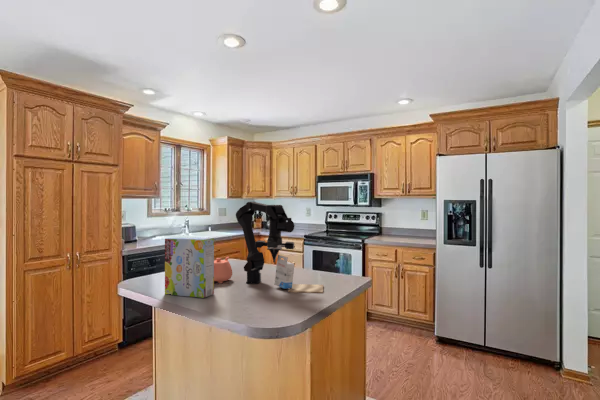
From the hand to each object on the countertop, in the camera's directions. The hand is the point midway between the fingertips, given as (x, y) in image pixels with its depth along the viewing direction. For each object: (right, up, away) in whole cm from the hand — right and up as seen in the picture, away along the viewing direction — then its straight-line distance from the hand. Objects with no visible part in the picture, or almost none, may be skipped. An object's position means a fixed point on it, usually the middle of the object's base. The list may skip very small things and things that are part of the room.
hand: (274, 262), depth 163 cm
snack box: (-38, -13, -11) cm, 41 cm away
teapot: (-30, -13, +15) cm, 36 cm away
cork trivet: (+16, -12, -2) cm, 20 cm away
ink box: (+4, -12, -1) cm, 12 cm away
